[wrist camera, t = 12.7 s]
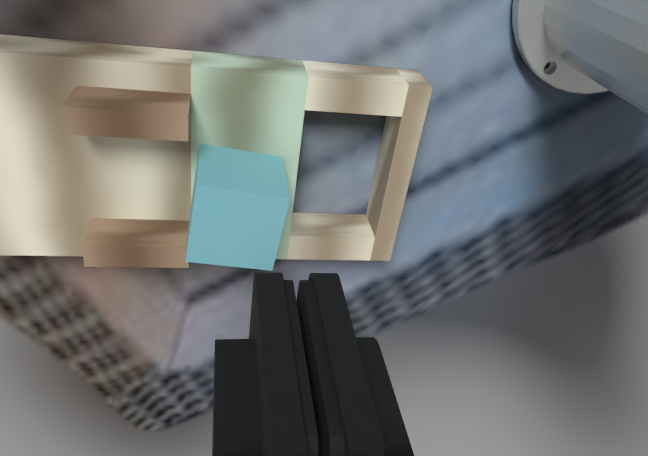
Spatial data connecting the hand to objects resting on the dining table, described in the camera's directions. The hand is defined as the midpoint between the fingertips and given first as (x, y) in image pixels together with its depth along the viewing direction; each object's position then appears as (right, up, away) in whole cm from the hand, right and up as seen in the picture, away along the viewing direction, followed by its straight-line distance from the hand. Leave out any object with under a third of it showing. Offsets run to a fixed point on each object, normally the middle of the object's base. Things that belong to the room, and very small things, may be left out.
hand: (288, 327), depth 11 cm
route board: (-7, +7, +25) cm, 27 cm away
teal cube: (-5, +5, +23) cm, 24 cm away
